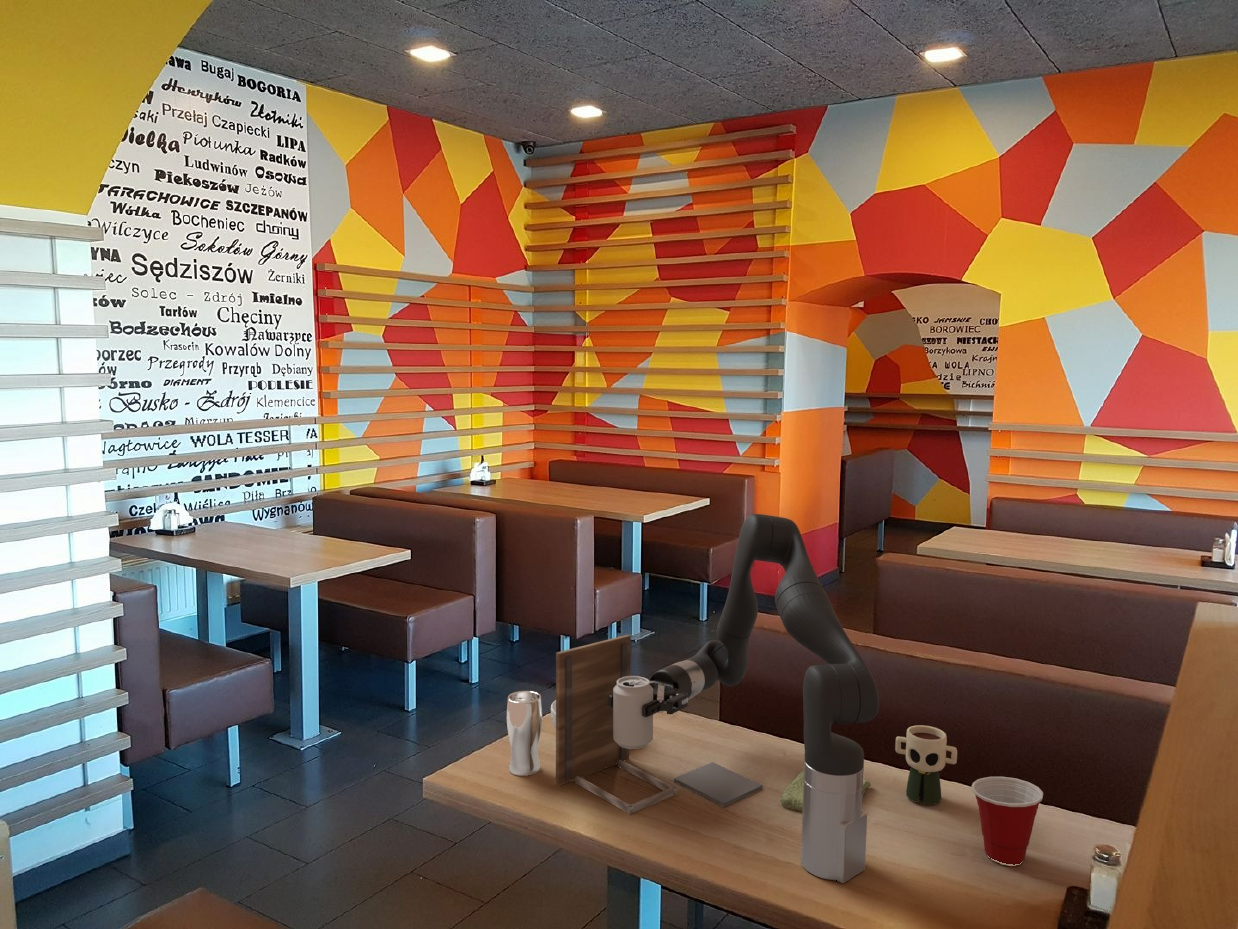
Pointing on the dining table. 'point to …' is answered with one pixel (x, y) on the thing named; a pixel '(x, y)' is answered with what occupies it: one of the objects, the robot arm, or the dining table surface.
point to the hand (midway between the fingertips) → (626, 706)
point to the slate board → (718, 784)
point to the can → (632, 712)
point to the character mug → (925, 761)
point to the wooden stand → (594, 719)
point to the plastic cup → (1006, 816)
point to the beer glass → (524, 731)
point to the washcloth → (795, 793)
